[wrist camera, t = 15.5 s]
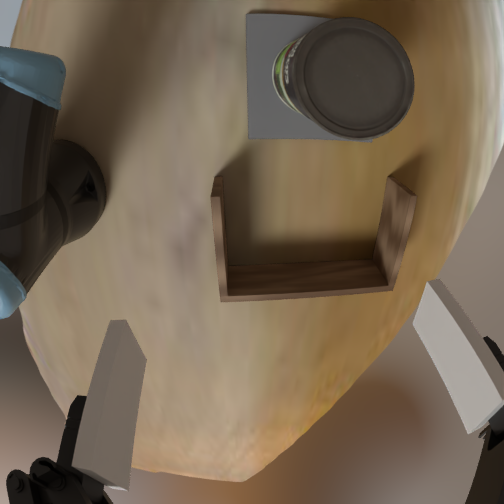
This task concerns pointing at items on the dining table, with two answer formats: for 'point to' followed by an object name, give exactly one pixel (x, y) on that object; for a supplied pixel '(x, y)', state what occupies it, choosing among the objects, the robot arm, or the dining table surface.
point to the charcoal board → (261, 84)
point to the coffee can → (346, 78)
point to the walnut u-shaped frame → (318, 273)
